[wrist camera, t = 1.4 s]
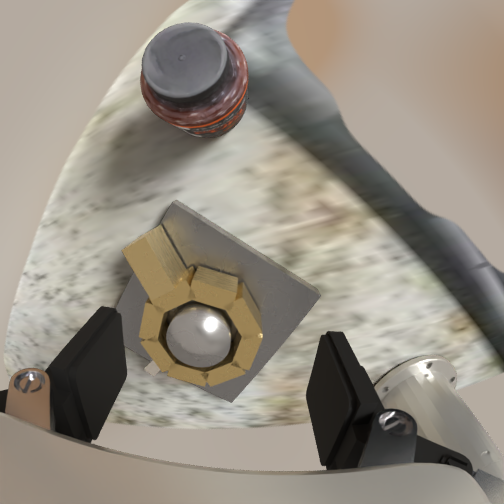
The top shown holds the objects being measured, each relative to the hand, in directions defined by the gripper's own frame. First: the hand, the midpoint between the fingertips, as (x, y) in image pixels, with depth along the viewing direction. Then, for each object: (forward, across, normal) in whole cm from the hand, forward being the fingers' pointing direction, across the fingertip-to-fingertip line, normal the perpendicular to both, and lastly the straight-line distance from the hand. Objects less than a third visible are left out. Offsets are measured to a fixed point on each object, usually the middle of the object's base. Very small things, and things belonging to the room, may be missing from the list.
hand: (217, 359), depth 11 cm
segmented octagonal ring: (+14, +3, +5) cm, 15 cm away
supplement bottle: (+16, +3, -11) cm, 20 cm away
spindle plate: (+16, +2, +6) cm, 17 cm away
